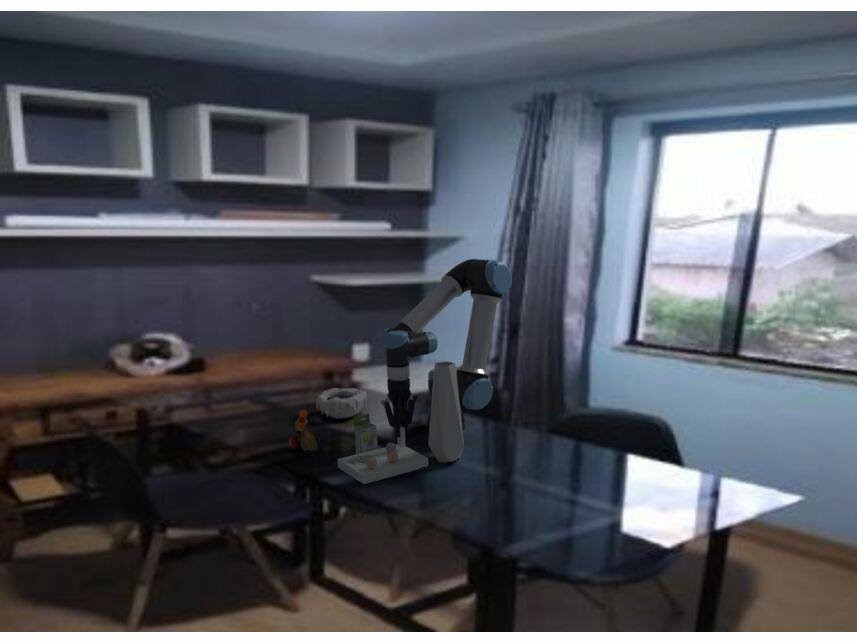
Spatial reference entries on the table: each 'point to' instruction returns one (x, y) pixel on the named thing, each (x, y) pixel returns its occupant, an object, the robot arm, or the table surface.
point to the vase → (445, 414)
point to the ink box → (365, 435)
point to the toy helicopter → (303, 434)
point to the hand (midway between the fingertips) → (401, 445)
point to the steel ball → (390, 447)
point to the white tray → (382, 464)
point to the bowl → (341, 402)
